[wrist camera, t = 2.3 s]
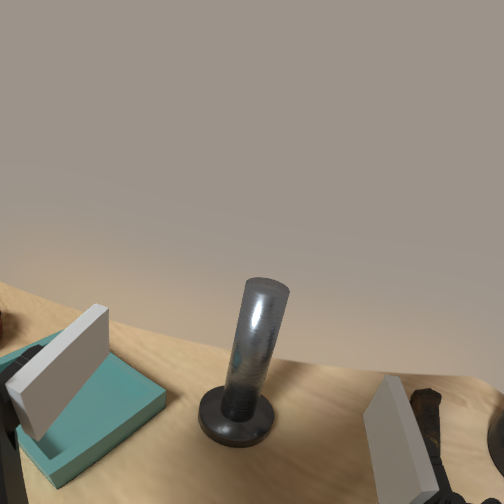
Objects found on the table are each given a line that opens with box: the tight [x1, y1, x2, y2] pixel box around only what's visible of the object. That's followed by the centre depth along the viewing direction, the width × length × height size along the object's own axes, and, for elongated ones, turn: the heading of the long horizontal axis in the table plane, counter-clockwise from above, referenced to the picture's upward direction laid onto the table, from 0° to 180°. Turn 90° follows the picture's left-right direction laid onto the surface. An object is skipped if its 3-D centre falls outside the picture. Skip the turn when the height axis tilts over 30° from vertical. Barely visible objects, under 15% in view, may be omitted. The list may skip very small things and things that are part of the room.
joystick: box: [198, 277, 290, 448], centre depth 25 cm, size 7×7×14 cm
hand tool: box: [409, 388, 442, 455], centre depth 23 cm, size 19×4×5 cm, turn 152°
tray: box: [0, 329, 166, 490], centre depth 23 cm, size 14×14×2 cm
